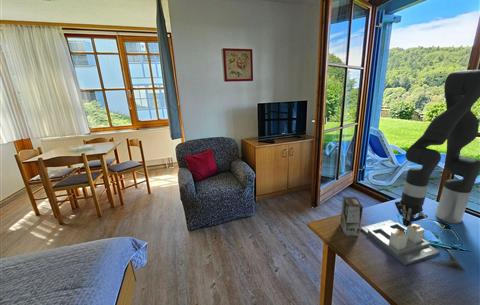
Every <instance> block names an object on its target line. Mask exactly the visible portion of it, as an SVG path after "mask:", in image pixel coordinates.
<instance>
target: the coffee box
mask: <svg viewBox="0 0 480 305" xmlns="http://www.w3.org/2000/svg"><path fill="white" fill-rule="evenodd" d="M363 208H364V206H363V205H362V203H361V202H360V201H359V199H358V197H356V196H342V203H341V213H340V221H339V222H340V223H339V224H340V226H341V229H342V230H343V234H344V235H345V236H354V237H356V236H357V237H359V235H360V231H361V221H362V216H363V215H362V214H363Z"/></svg>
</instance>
